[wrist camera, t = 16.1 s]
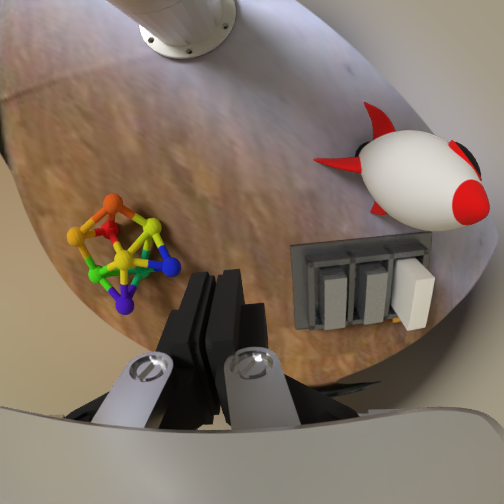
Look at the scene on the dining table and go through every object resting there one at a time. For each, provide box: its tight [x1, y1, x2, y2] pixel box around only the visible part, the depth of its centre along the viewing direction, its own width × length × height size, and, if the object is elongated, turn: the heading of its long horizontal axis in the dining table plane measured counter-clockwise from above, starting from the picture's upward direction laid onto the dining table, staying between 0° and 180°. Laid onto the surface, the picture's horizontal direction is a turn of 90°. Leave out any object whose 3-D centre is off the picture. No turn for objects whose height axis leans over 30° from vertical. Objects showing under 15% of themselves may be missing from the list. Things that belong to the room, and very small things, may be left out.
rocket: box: [314, 102, 490, 231], centre depth 29 cm, size 11×11×25 cm
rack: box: [290, 231, 432, 330], centre depth 45 cm, size 14×22×6 cm, turn 96°
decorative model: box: [67, 193, 181, 315], centre depth 42 cm, size 13×9×15 cm
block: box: [390, 256, 435, 331], centre depth 43 cm, size 8×3×8 cm, turn 5°
